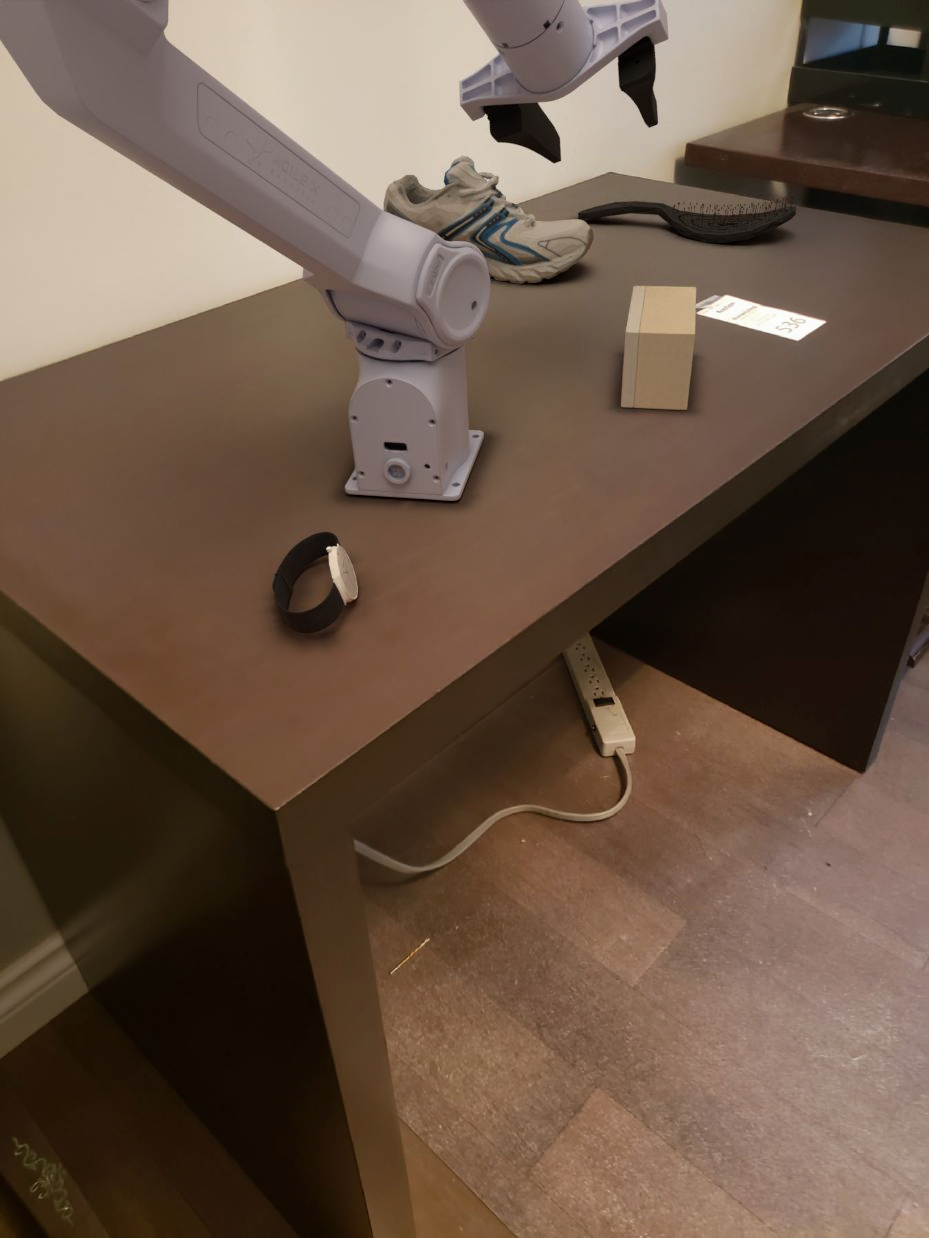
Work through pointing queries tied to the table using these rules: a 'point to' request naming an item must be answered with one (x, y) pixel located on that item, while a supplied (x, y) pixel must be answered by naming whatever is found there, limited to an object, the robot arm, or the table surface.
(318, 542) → the watch
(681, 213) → the hairbrush
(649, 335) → the tilted tan cardboard box
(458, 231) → the athletic shoe
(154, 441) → the table surface
